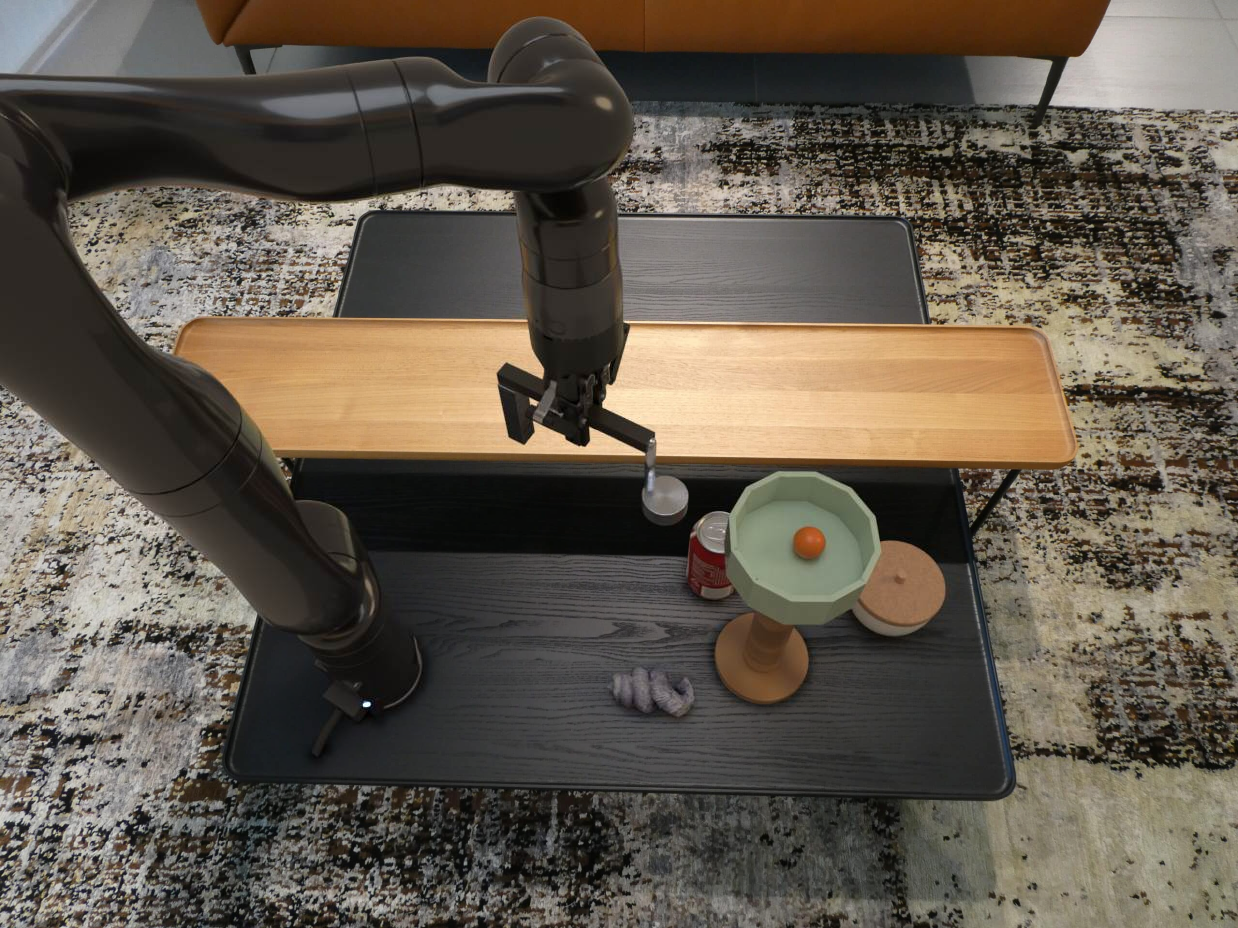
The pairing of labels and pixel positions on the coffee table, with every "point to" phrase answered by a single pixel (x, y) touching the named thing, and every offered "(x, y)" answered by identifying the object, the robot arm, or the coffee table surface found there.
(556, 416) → the robot arm
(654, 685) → the seashell
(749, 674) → the stand
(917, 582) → the trinket box
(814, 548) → the ball
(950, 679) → the coffee table surface
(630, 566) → the coffee table surface
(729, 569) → the bowl
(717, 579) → the soda can
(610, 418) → the ladle
